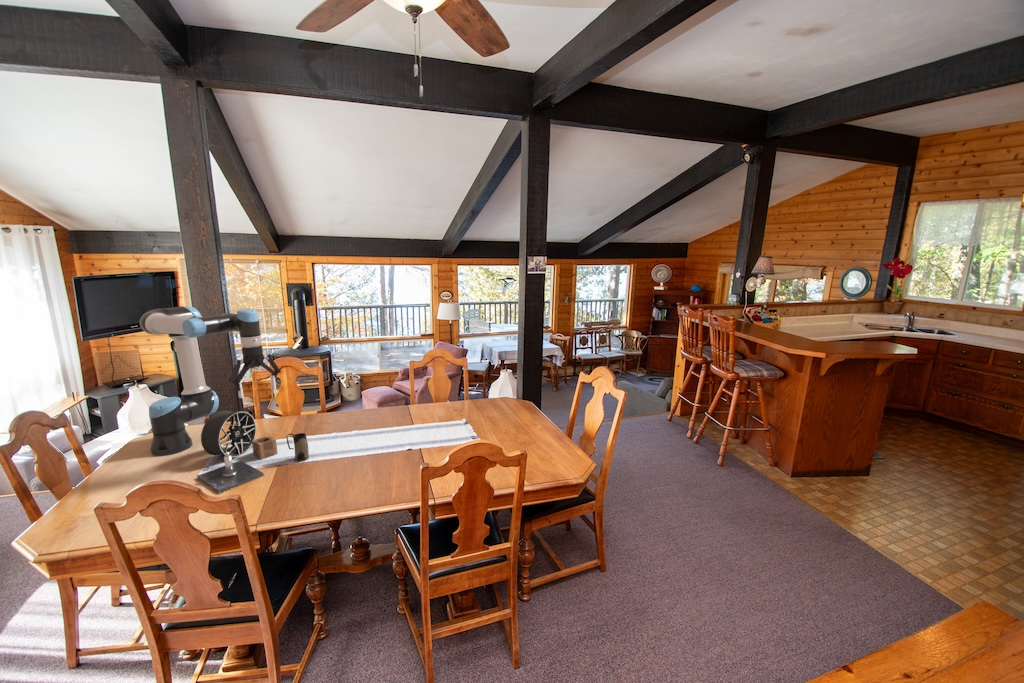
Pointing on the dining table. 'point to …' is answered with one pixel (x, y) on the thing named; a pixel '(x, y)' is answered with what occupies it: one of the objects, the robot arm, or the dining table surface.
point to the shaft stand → (229, 475)
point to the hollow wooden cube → (264, 447)
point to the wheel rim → (228, 433)
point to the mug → (300, 447)
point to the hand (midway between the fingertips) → (258, 393)
